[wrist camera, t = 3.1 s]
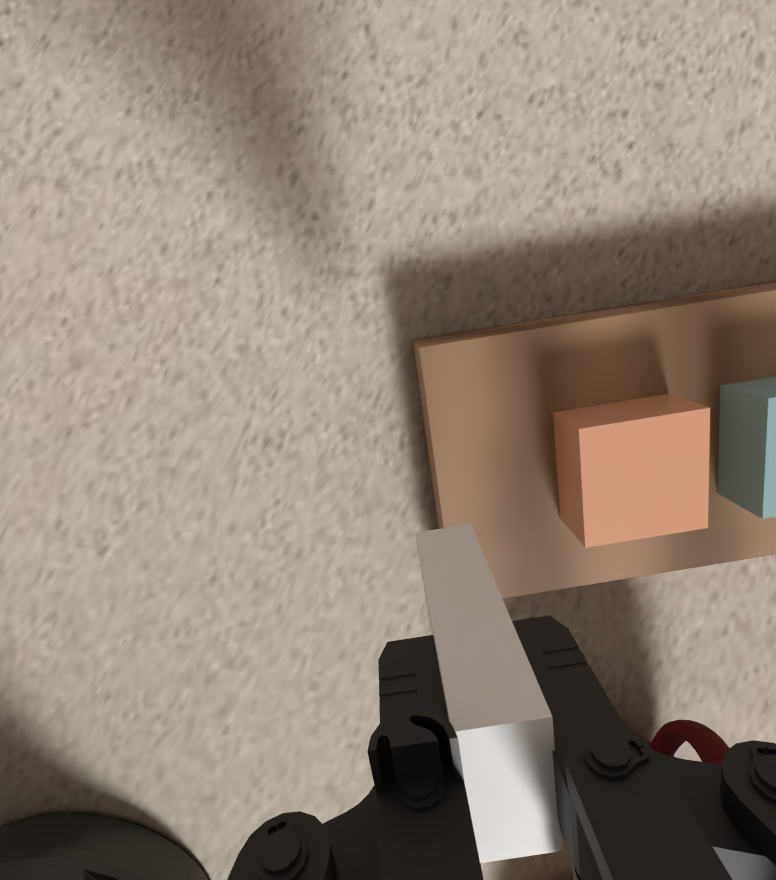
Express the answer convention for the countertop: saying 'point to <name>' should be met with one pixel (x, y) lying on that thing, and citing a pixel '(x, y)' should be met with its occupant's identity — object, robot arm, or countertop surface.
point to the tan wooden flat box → (571, 387)
